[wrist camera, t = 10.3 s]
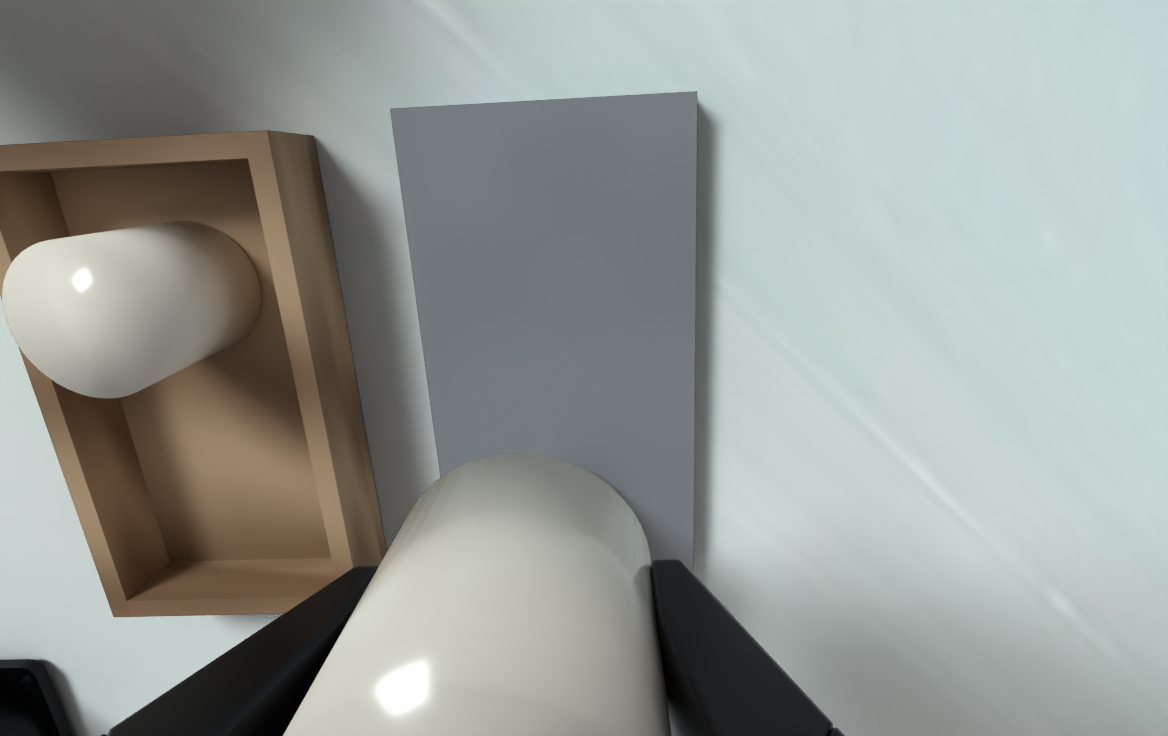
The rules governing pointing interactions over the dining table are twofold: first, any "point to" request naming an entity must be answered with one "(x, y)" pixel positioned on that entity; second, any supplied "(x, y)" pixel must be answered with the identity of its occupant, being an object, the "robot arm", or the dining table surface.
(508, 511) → the pebble
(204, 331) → the pebble
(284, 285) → the walnut bin
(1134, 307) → the dining table surface
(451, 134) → the slate board
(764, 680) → the robot arm
